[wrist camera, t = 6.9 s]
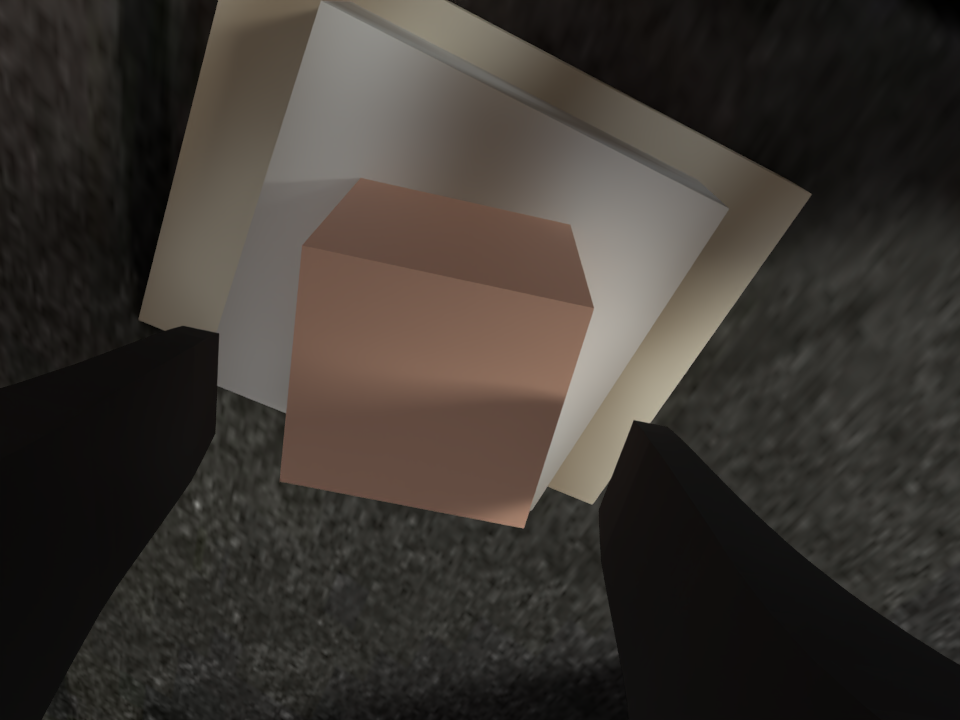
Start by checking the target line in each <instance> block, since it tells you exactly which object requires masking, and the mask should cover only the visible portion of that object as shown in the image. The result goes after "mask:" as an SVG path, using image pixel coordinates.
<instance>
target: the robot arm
mask: <svg viewBox="0 0 960 720" xmlns="http://www.w3.org/2000/svg"><path fill="white" fill-rule="evenodd" d="M218 354H219V333H216V332H211V331H206V330H201V329H197V328H192V327H187V326H180V327H176V328H172V329H169V330H166V331H163V332H160V333H158V334H155V335H152V336H149V337H147V338H144V339H141V340H139V341H136V342H133V343H131V344H128V345H126V346H123V347H120V348H118V349H115V350H112V351H110V352H107V353H104V354H102V355H99V356H96V357H94V358H91V359H88V360H86V361H83V362H80V363H77V364H75V365H71V366H68V367H65V368H62V369H59V370H56V371H53V372H50V373H47V374H44V375H41V376H38V377H35V378H32V379H29V380H26V381H23V382H20V383H17V384H14V385H11V386H7V387H4V388H0V720H42V718H43V716H44V714H45V712H46V710H47V708H48V707H49V705H50V703H51V701H52V699H53V697H54V695H55V693H56V692H57V690H58V688H59V686H60V684H61V682H62V680H63V678H64V677H65V675H66V673H67V671H68V669H69V667H70V665H71V664H72V662H73V660H74V658H75V656H76V655H77V653H78V651H79V649H80V648H81V646H82V644H83V642H84V640H85V639H86V637H87V635H88V633H89V631H90V630H91V628H92V626H93V624H94V623H95V621H96V619H97V617H98V615H99V614H100V612H101V610H102V609H103V607H104V606H105V604H106V602H107V601H108V599H109V598H110V596H111V595H112V593H113V592H114V590H115V589H116V587H117V585H118V584H119V583H120V581H121V580H122V578H123V577H124V576H125V574H126V573H127V571H128V570H129V569H130V567H131V566H132V564H133V563H134V562H135V560H136V559H137V557H138V556H139V554H140V553H141V552H142V550H143V549H144V547H145V546H146V545H147V543H148V542H149V540H150V539H151V538H152V536H153V535H154V533H155V532H156V531H157V529H158V528H159V526H160V525H161V524H162V522H163V521H164V519H165V518H166V516H167V515H168V514H169V512H170V511H171V509H172V508H173V506H174V505H175V504H176V502H177V501H178V499H179V498H180V496H181V495H182V494H183V492H184V491H185V489H186V488H187V486H188V485H189V483H190V482H191V480H192V478H193V476H194V474H195V473H196V471H197V469H198V467H199V465H200V463H201V461H202V459H203V457H204V455H205V453H206V451H207V449H208V447H209V445H210V443H211V441H212V439H213V437H214V435H215V427H216V403H217V378H218ZM599 529H600V550H601V563H602V568H603V574H604V580H605V585H606V591H607V596H608V601H609V607H610V612H611V617H612V622H613V627H614V632H615V638H616V643H617V648H618V653H619V658H620V664H621V669H622V674H623V679H624V686H625V693H626V700H627V707H628V719H629V720H960V665H959V664H957V663H955V662H954V661H952V660H950V659H948V658H947V657H945V656H943V655H942V654H940V653H939V652H937V651H935V650H934V649H932V648H931V647H929V646H927V645H926V644H924V643H923V642H921V641H919V640H918V639H916V638H915V637H913V636H912V635H910V634H908V633H907V632H906V631H904V630H903V629H901V628H900V627H898V626H897V625H895V624H894V623H892V622H891V621H889V620H888V619H886V618H885V617H883V616H882V615H880V614H879V613H878V612H876V611H875V610H873V609H872V608H870V607H869V606H867V605H866V604H864V603H863V602H862V601H860V600H859V599H858V598H856V597H855V596H853V595H852V594H851V593H849V592H848V591H847V590H845V589H844V588H843V587H841V586H840V585H839V584H837V583H836V582H835V581H834V580H832V579H831V578H830V577H829V576H827V575H826V574H825V573H823V572H822V571H821V570H820V569H818V568H817V567H816V566H815V565H813V564H812V563H811V562H809V561H808V560H807V559H806V558H805V557H803V556H802V555H801V554H800V553H799V552H797V551H796V550H795V549H794V548H793V547H792V546H790V545H789V544H788V543H787V542H786V541H785V540H784V539H783V538H781V537H780V536H779V535H778V534H777V533H776V532H775V531H774V530H773V529H772V528H770V527H769V526H768V525H767V524H766V523H765V522H764V521H763V520H762V519H761V518H759V517H758V516H757V515H756V514H755V513H754V512H753V511H752V510H751V509H750V508H749V507H748V506H747V505H746V504H745V503H744V502H743V501H742V500H741V499H740V498H739V497H738V496H737V495H736V494H735V493H734V492H733V491H732V490H731V489H730V488H729V487H728V486H727V485H726V484H725V483H724V482H723V481H722V480H721V479H720V478H719V477H718V476H717V475H716V474H715V473H714V472H713V471H712V470H711V469H710V468H709V467H708V466H707V465H706V464H705V463H704V462H703V461H702V460H701V459H700V458H699V456H698V455H697V454H696V453H695V452H694V451H693V450H692V449H691V448H690V447H689V446H688V445H687V444H686V443H685V442H684V441H683V440H682V439H681V438H679V437H678V436H677V435H676V434H675V433H674V432H673V431H672V430H670V429H669V428H668V427H665V426H660V425H656V424H651V423H646V422H641V421H636V420H634V421H633V423H632V426H631V428H630V431H629V433H628V436H627V439H626V441H625V444H624V446H623V449H622V451H621V454H620V457H619V459H618V462H617V464H616V467H615V470H614V472H613V475H612V477H611V480H610V482H609V485H608V488H607V490H606V493H605V495H604V498H603V501H602V503H601V506H600V508H599Z"/></svg>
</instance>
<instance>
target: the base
mask: <svg viewBox="0 0 960 720" xmlns="http://www.w3.org/2000/svg"><path fill="white" fill-rule="evenodd" d="M360 178H364V179H368V180H373V181H377V182H382V183H386V184H391V185H395V186H400V187H404V188H409V189H413V190H418V191H422V192H426V193H431V194H435V195H440V196H444V197H449V198H453V199H458V200H462V201H467V202H471V203H476V204H480V205H485V206H489V207H494V208H498V209H503V210H507V211H512V212H516V213H521V214H525V215H530V216H534V217H538V218H543V219H547V220H552V221H556V222H561V223H565V224H570V225H571V229H572V232H573V236H574V239H575V243H576V246H577V250H578V253H579V257H580V260H581V264H582V267H583V271H584V274H585V278H586V281H587V285H588V288H589V292H590V295H591V299H592V302H593V306H594V310H593V314H592V317H591V320H590V323H589V326H588V329H587V332H586V335H585V339H584V342H583V345H582V348H581V351H580V354H579V357H578V360H577V364H576V367H575V370H574V373H573V376H572V379H571V382H570V385H569V388H568V392H567V395H566V398H565V401H564V404H563V407H562V410H561V413H560V417H559V420H558V423H557V426H556V429H555V432H554V435H553V438H552V442H551V445H550V448H549V451H548V454H547V457H546V460H545V463H544V467H543V470H542V473H541V476H540V479H539V482H538V485H537V488H536V492H535V495H534V498H533V501H532V504H531V507H530V511H532V509H533V508H534V506H535V504H536V503H537V501H538V500H539V498H540V497H541V495H542V494H543V492H544V491H545V489H546V488H547V486H548V487H550V488H553V489H555V490H558V491H560V492H563V493H565V494H567V495H570V496H572V497H575V498H577V499H580V500H582V501H585V502H587V503H590V504H592V505H593V503H594V502H595V500H596V499H597V497H598V496H599V495H600V493H601V492H602V490H603V489H604V488H605V486H606V485H607V483H608V482H609V481H610V479H611V477H612V475H613V472H614V470H615V467H616V464H617V462H618V459H619V457H620V454H621V451H622V449H623V446H624V444H625V441H626V439H627V436H628V433H629V431H630V428H631V426H632V423H633V421H634V420H636V421H641V422H646V423H651V421H652V420H653V418H654V417H655V415H656V414H657V413H658V411H659V410H660V408H661V407H662V406H663V404H664V403H665V401H666V400H667V399H668V397H669V396H670V394H671V393H672V391H673V390H674V389H675V387H676V386H677V384H678V383H679V382H680V380H681V379H682V377H683V376H684V374H685V373H686V372H687V370H688V369H689V367H690V366H691V365H692V363H693V362H694V360H695V359H696V358H697V356H698V355H699V353H700V352H701V350H702V349H703V348H704V346H705V345H706V343H707V342H708V341H709V339H710V338H711V336H712V335H713V334H714V332H715V331H716V329H717V328H718V326H719V325H720V324H721V322H722V321H723V319H724V318H725V317H726V315H727V314H728V312H729V311H730V309H731V308H732V307H733V305H734V304H735V302H736V301H737V300H738V298H739V297H740V295H741V294H742V293H743V291H744V290H745V288H746V287H747V285H748V284H749V283H750V281H751V280H752V278H753V277H754V276H755V274H756V273H757V271H758V270H759V268H760V267H761V266H762V264H763V263H764V261H765V260H766V259H767V257H768V256H769V254H770V253H771V252H772V250H773V249H774V247H775V246H776V244H777V243H778V242H779V240H780V239H781V237H782V236H783V235H784V233H785V232H786V230H787V229H788V227H789V226H790V225H791V223H792V222H793V220H794V219H795V218H796V216H797V215H798V213H799V212H800V211H801V209H802V208H803V206H804V205H805V203H806V202H807V201H808V199H809V198H810V196H811V195H812V194H811V193H809V192H808V191H806V190H804V189H803V188H801V187H800V186H798V185H796V184H795V183H793V182H791V181H790V180H788V179H786V178H784V177H782V176H780V175H778V174H776V173H774V172H773V171H771V170H769V169H767V168H765V167H763V166H761V165H759V164H757V163H755V162H754V161H752V160H750V159H748V158H746V157H744V156H742V155H740V154H738V153H736V152H735V151H733V150H731V149H729V148H727V147H725V146H723V145H721V144H719V143H718V142H716V141H714V140H712V139H710V138H708V137H706V136H704V135H702V134H700V133H699V132H697V131H695V130H693V129H691V128H689V127H687V126H685V125H683V124H681V123H680V122H678V121H676V120H674V119H672V118H670V117H668V116H666V115H664V114H663V113H661V112H659V111H657V110H655V109H653V108H651V107H649V106H647V105H645V104H644V103H642V102H640V101H638V100H636V99H634V98H632V97H630V96H628V95H627V94H625V93H623V92H621V91H619V90H617V89H615V88H613V87H611V86H609V85H608V84H606V83H604V82H602V81H600V80H598V79H596V78H594V77H592V76H590V75H589V74H587V73H585V72H583V71H581V70H579V69H577V68H575V67H573V66H572V65H570V64H568V63H566V62H564V61H562V60H560V59H558V58H556V57H554V56H553V55H551V54H549V53H547V52H545V51H543V50H541V49H539V48H537V47H535V46H534V45H532V44H530V43H528V42H526V41H524V40H522V39H520V38H518V37H517V36H515V35H513V34H511V33H509V32H507V31H505V30H503V29H501V28H499V27H498V26H496V25H494V24H492V23H490V22H488V21H486V20H484V19H482V18H480V17H479V16H477V15H475V14H473V13H471V12H469V11H467V10H465V9H463V8H462V7H460V6H458V5H456V4H454V3H452V2H450V1H448V0H218V4H217V8H216V12H215V16H214V20H213V24H212V28H211V32H210V35H209V39H208V43H207V47H206V51H205V55H204V59H203V63H202V67H201V71H200V75H199V79H198V83H197V87H196V91H195V95H194V99H193V103H192V107H191V111H190V115H189V119H188V123H187V127H186V131H185V135H184V139H183V143H182V147H181V151H180V155H179V159H178V163H177V167H176V171H175V175H174V179H173V183H172V187H171V191H170V195H169V199H168V203H167V207H166V211H165V215H164V219H163V223H162V227H161V231H160V235H159V239H158V243H157V247H156V251H155V255H154V259H153V263H152V267H151V271H150V275H149V279H148V283H147V287H146V291H145V295H144V299H143V303H142V307H141V311H140V315H139V319H138V320H140V321H142V322H145V323H147V324H150V325H152V326H155V327H157V328H160V329H162V330H164V331H166V330H169V329H172V328H176V327H180V326H187V327H192V328H197V329H201V330H206V331H211V332H216V333H219V354H218V378H217V386H219V387H222V388H224V389H227V390H229V391H232V392H234V393H237V394H239V395H242V396H244V397H247V398H249V399H252V400H254V401H257V402H259V403H262V404H264V405H267V406H269V407H272V408H274V409H277V410H279V411H282V412H284V413H286V410H287V399H288V389H289V378H290V368H291V357H292V346H293V336H294V325H295V315H296V304H297V293H298V283H299V272H300V262H301V251H302V245H303V244H304V243H305V241H306V240H307V239H308V238H309V237H310V236H311V234H312V233H313V232H314V231H315V230H316V229H317V228H318V226H319V225H320V224H321V223H322V222H323V221H324V220H325V218H326V217H327V216H328V215H329V214H330V213H331V211H332V210H333V209H334V208H335V207H336V206H337V205H338V203H339V202H340V201H341V200H342V199H343V198H344V196H345V195H346V194H347V193H348V192H349V191H350V190H351V188H352V187H353V186H354V185H355V184H356V183H357V182H358V180H359V179H360Z"/></svg>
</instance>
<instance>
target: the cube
mask: <svg viewBox="0 0 960 720" xmlns="http://www.w3.org/2000/svg"><path fill="white" fill-rule="evenodd" d="M593 310H594V306H593V302H592V299H591V295H590V292H589V288H588V285H587V281H586V278H585V274H584V271H583V267H582V264H581V260H580V257H579V253H578V250H577V246H576V243H575V239H574V236H573V232H572V229H571V225H570V224H565V223H561V222H556V221H552V220H547V219H543V218H538V217H534V216H530V215H525V214H521V213H516V212H512V211H507V210H503V209H498V208H494V207H489V206H485V205H480V204H476V203H471V202H467V201H462V200H458V199H453V198H449V197H444V196H440V195H435V194H431V193H426V192H422V191H418V190H413V189H409V188H404V187H400V186H395V185H391V184H386V183H382V182H377V181H373V180H368V179H364V178H360V179H359V180H358V182H357V183H356V184H355V185H354V186H353V187H352V188H351V190H350V191H349V192H348V193H347V194H346V195H345V196H344V198H343V199H342V200H341V201H340V202H339V203H338V205H337V206H336V207H335V208H334V209H333V210H332V211H331V213H330V214H329V215H328V216H327V217H326V218H325V220H324V221H323V222H322V223H321V224H320V225H319V226H318V228H317V229H316V230H315V231H314V232H313V233H312V234H311V236H310V237H309V238H308V239H307V240H306V241H305V243H304V244H303V245H302V251H301V262H300V272H299V283H298V293H297V304H296V315H295V325H294V336H293V346H292V357H291V368H290V378H289V389H288V399H287V410H286V421H285V431H284V442H283V452H282V463H281V474H280V482H286V483H291V484H296V485H301V486H306V487H312V488H317V489H322V490H327V491H332V492H338V493H343V494H348V495H353V496H358V497H363V498H369V499H374V500H379V501H384V502H389V503H395V504H400V505H405V506H410V507H415V508H421V509H426V510H431V511H436V512H441V513H447V514H452V515H457V516H462V517H467V518H473V519H478V520H483V521H488V522H493V523H499V524H504V525H509V526H514V527H519V528H524V526H525V523H526V520H527V517H528V513H529V510H530V507H531V504H532V501H533V498H534V495H535V492H536V488H537V485H538V482H539V479H540V476H541V473H542V470H543V467H544V463H545V460H546V457H547V454H548V451H549V448H550V445H551V442H552V438H553V435H554V432H555V429H556V426H557V423H558V420H559V417H560V413H561V410H562V407H563V404H564V401H565V398H566V395H567V392H568V388H569V385H570V382H571V379H572V376H573V373H574V370H575V367H576V364H577V360H578V357H579V354H580V351H581V348H582V345H583V342H584V339H585V335H586V332H587V329H588V326H589V323H590V320H591V317H592V314H593Z"/></svg>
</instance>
